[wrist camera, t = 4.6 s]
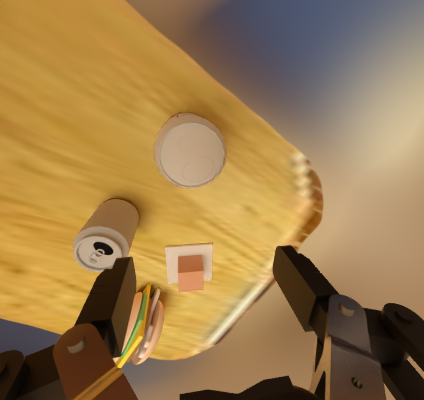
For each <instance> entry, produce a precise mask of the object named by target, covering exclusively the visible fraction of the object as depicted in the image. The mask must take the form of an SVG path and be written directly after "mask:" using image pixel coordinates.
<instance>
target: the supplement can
mask: <svg viewBox="0 0 424 400" xmlns="http://www.w3.org/2000/svg"><path fill="white" fill-rule="evenodd" d="M226 154H227V149H226V145H225V140H224V137H223V136H222V134H221V133H220V131H219V129H218V128H217V127H216V126H215V125H213V124H212V123H211V122H210V121H208V120H207V119H205V118H203V117H201V116H198V115H196V114H193V113H189V112H183V113H178V114H176V115H174V116H172V117H170V119H169V120H168V121H167V122H166V123H165V124H164V126H163V127H162V129H161V130H160V131H159V133H158V136H157V138H156V141H155V144H154V160H155V162H156V165H157V168H158V170H159V171H160V173H161V174H162V175H163V176H164V177H165V179H166V180H168V181H169V182H171V183H173V184H174V185H176V186H179V187H183V188H188V189H190V188H198V187H202V186H204V185H206V184H209V183H211V182H212V181H213V180H214V179H215V178H216V177H217V176H218V175H219V174H220V173H221V171H222V169H223V167H224V165H225V161H226Z"/></svg>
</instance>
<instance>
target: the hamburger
mask: <svg viewBox="0 0 424 400" xmlns="http://www.w3.org/2000/svg"><path fill="white" fill-rule="evenodd" d="M150 289H151V284H147V286H146V287H145V289H144V290H143V292H138V293H137V294H136V295H135V297H134V301H133V305H132V310H131V314H130V319H129V323H128V328H127V332H126V337H125V341H124V345H123V350H122V354H121V357H117V358H113V360H114V362H115V364H116V365H117V367H118V368H121V367H122V366H123V364H124V363H125V362H129V361H130V360H131V359H133V363H134V364H140V363H142V362H143V361H145V360H146V359H147V358H148V357H149V355H150V354H151V353H152V351H153V350H154V348H155V346H156V344H157V342H158V340H159V337H160V334H161V331H162V327H163V322H164V308H163V305H162V303H161V301H160V300H158V297H159V295H160V290H161V289H159V288H157V289H156V290H155V292H154V294H153V297H152V299H151V298H150V297H149V296H150Z"/></svg>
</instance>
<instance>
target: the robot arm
mask: <svg viewBox="0 0 424 400" xmlns="http://www.w3.org/2000/svg"><path fill="white" fill-rule="evenodd" d="M273 275H274V278H275V279H276V281H277V283H278V285H279V287H280V288H281V290H282V292H283V294H284V295H285V297H286V299H287V301H288V302H289V304H290V306H291V308H292V310H293V311H294V313H295V315H296V317H297V318H298V320H299V322H300V324H301V325H302V327H303V329H304V330H305V332H307V331H314V332H315V333H316V335H317V336H316V339H315V349H314V361H313V371H312V379H311V385H310V388H309V391H308V390H305V389H303V388H300V387H297V386H293V385H292V383H291V380H290V378H289V376H284V377H278V378H272V379H266V380H263V381H261V382H259V383H257V384H255V385H254V386H252V387H250V388H249V389H246V390H245V391H243V392H241V393H239V394H234V393H227V392H221V391H215V390H202V391H196V392H191V393H185V394H180V400H386V395H385V388H384V384H385V385H386V386H387V388H388V389H389V391H390V392H391V394H392V395H393V396H394V398H395V399H396V400H424V379H423V378H422V377H421V375H420V374H419V373H418V372H417V371H416V369H415V368H414V367H413V366H412V365H411V364H410V362H409V361H408V360H407V358H408V357H409V355H410V357H411V358H412V359H413V360H414V361H415V362H416V363H417V365H418V366H419V367H420V368H421V369H422V370H423V371H424V320H423V319H422V318H420V317H419V316H418V315H417V314H416V313H415V312H413V311H411V310H410V309H408V308H406V307H404V306H402V305H399V304H395V303H387V304H385V305H384V307H383V309H382V311H379V310H373V309H367V308H362V306H361V305H360V304H359V303H358V302H356V301H355V300H353V299H352V298H350V297H347V296H345V295H341V294H339V293H338V292H337V291H336V290H335V289H334V287H333V286H332V285H331V284H330V283H329V282H328V280H327V279H326V278H325V277H324V276H323V275H322V273H320V271H319V270H318V269H317V268H316V267H315V265H314V264H313V263H312V262H311V261H310V259H308V258H307V257H305V256H304V255H302V254H301V253H300V254H298V253H297V252H296V250H295V249H294V248H293V247H292V246H291V245H286V246H277V248H276V251H275V257H274V262H273ZM135 292H136V275H135V269H134V262H133V258H132V257H121V258H116V260H115V262H114V265H113V267H112V268H111V269H105V270H104V271H103V272H102V273H101V274H100V275H99V276H98V277H97V278H96V281H95V283H94V285H93V288H92V289H91V291H90V295H89V296H88V298H87V300H86V302H85V304H84V306H83V308H82V310H81V313H80V315H79V317H78V319H77V321H76V323H75V325H74V327H72V328H70V329H69V330H67V331H66V332H65V333H64V334H63V335H62V336H61V337H60V338H59V339H58V340H57V342H56V343H55V344H54V345H52V346H50V347H48V348H45V349H43V350H40V351H38V352H35V353H33V354H30V355H28V356H25V357H24V355H23V354H22V353H21V352H20V351H17V350H11V351H6V352H3V353H0V400H138V398H137V396H136V394H135V393H134V391H133V389H132V388H131V386H130V384H129V382H128V380H127V378H126V376H125V375H124V373H123V371H122V370H121V368H118V367H117V365H116V364H115V362H114V360H113V358H117V357H121V354H122V350H123V345H124V341H125V337H126V332H127V328H128V323H129V319H130V314H131V310H132V305H133V301H134V297H135Z"/></svg>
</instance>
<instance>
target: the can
mask: <svg viewBox="0 0 424 400" xmlns="http://www.w3.org/2000/svg"><path fill="white" fill-rule="evenodd" d="M138 222H139V214H138V212H137V210H136V208H135V207H134V206H133V205H132V204H130V203H129V202H127V201H124V200H120V199H111V200H108V201H105V202H104V203H102V204H101V205H100V206H99V207H98V209H97V210H96V211H95V213H94V214H93V215H92V216H91V218H90V219H89V220H88V221H87V223H86V224H85V225H84V227H83V228H82V229H81V230H80V232H79V233H78V234H77V236H76V238H75V239H74V243H73V249H74V257H75V260H76V261H77V262H78V264H79V265H80V266H82V267H83V268H85V269H87V270H90V271H93V272H103V271H104V270H105V269H111V268H112V267H113V265H114V262H115V260H116V258H121V257H127V256H128V253H129V250H130V247H131V244H132V241H133V238H134V235H135V232H136V229H137V226H138Z"/></svg>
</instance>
